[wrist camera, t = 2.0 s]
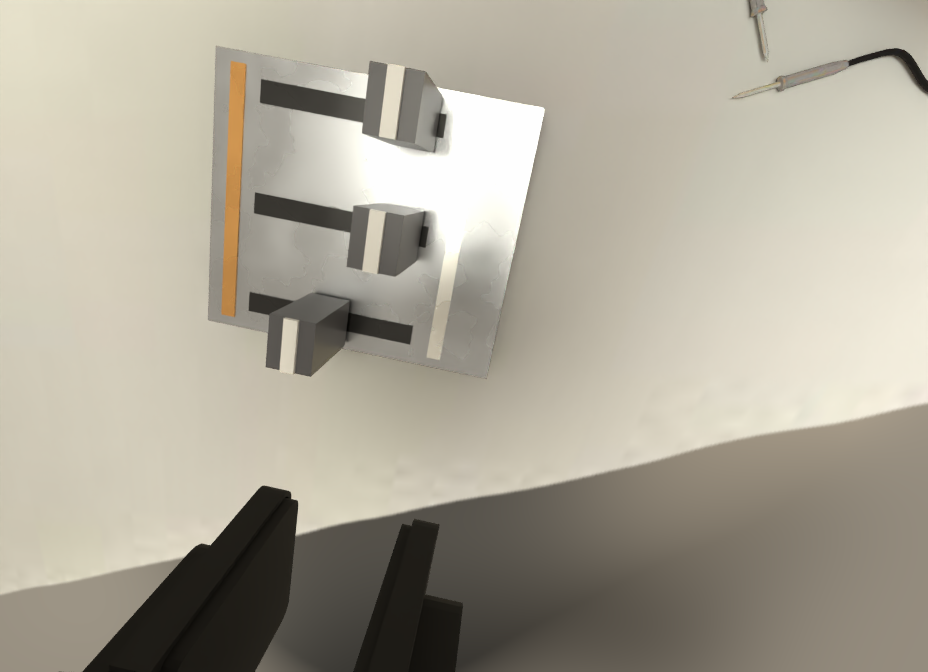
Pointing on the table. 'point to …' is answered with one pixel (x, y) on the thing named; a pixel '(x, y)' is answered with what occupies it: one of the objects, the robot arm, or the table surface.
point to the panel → (358, 183)
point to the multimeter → (823, 70)
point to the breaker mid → (384, 238)
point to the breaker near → (401, 107)
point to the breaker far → (306, 334)
